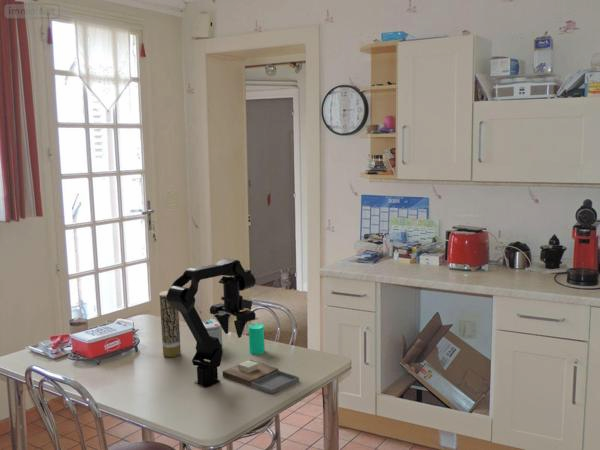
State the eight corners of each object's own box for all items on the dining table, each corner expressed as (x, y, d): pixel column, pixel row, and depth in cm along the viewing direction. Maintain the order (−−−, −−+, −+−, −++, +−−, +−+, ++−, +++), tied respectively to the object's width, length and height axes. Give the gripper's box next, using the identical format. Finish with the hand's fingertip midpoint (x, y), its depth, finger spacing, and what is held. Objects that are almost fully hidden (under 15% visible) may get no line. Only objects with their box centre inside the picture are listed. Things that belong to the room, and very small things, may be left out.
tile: (248, 373, 221) (248, 367, 220) (238, 369, 224) (238, 364, 223) (258, 368, 224) (258, 363, 224) (248, 365, 227) (248, 360, 227)
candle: (265, 349, 249) (264, 320, 248) (263, 354, 244) (262, 324, 242) (250, 348, 250) (249, 319, 248) (248, 354, 244) (247, 324, 242)
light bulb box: (199, 346, 255) (198, 320, 253) (215, 343, 258) (214, 318, 256) (206, 354, 245) (205, 328, 243) (223, 351, 248) (222, 325, 246)
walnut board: (250, 386, 214) (249, 381, 214) (222, 376, 223) (222, 371, 223) (278, 373, 224) (278, 368, 224) (251, 364, 233) (250, 359, 233)
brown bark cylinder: (176, 358, 242) (173, 295, 238) (160, 357, 243) (156, 294, 239) (183, 352, 248) (180, 290, 244) (167, 351, 250) (163, 290, 246)
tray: (271, 394, 207) (271, 389, 207) (251, 386, 214) (250, 382, 214) (299, 381, 217) (298, 377, 217) (278, 374, 224) (278, 370, 224)
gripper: (265, 293, 225) (267, 335, 227) (230, 285, 237) (232, 325, 239) (243, 299, 216) (244, 343, 219) (208, 291, 229) (209, 332, 231)
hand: (233, 335), depth 227 cm, fingers open, 7 cm apart
